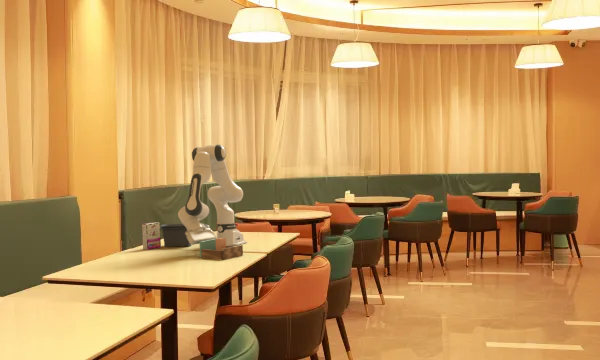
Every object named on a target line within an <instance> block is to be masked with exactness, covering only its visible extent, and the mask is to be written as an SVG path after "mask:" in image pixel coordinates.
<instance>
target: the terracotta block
mask: <svg viewBox="0 0 600 360" xmlns="http://www.w3.org/2000/svg"><path fill="white" fill-rule="evenodd" d="M224 248H226V238H216V250H221V249H224Z"/></svg>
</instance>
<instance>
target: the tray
mask: <svg viewBox="0 0 600 360" xmlns="http://www.w3.org/2000/svg"><path fill="white" fill-rule="evenodd" d="M199 243H200V244H199V258H202V257H201V249H210V250H216V239H212V240H206V241H200V242H199Z"/></svg>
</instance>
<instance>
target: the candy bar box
mask: <svg viewBox="0 0 600 360" xmlns="http://www.w3.org/2000/svg"><path fill="white" fill-rule="evenodd" d="M141 229H142V230H141V231H142V249H143V250H146V251H150V250H155V249H161V248H162V245H161V244H162V242H161V239H162V238H161V222H149V223H142V224H141Z"/></svg>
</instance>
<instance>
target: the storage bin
mask: <svg viewBox="0 0 600 360" xmlns="http://www.w3.org/2000/svg"><path fill="white" fill-rule="evenodd" d="M160 230H162V236H163V243H164V245H163V246H164V247H166V248H170V247H171V248H172V247H173V248H174V247H175V248H177V247H190V246H192V244H190V243H189V241H188V239H187V237H186V235H185V232H186V231H187V229H186V227H185V226H184V225H183V224H182V223H166V224H160Z"/></svg>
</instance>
